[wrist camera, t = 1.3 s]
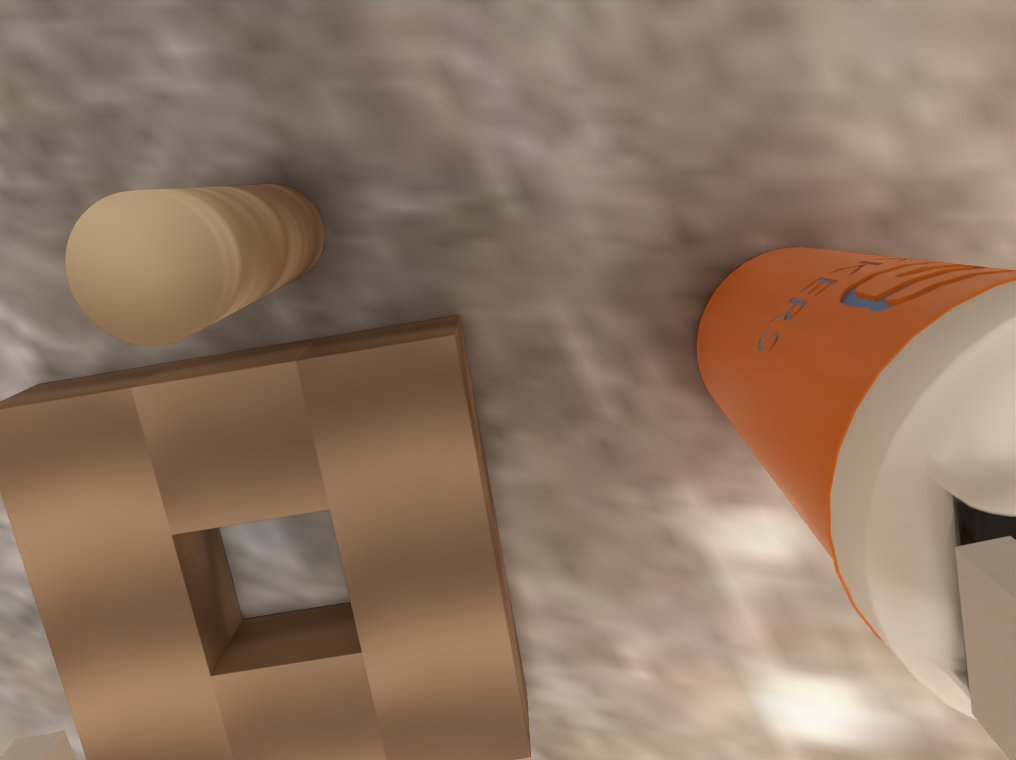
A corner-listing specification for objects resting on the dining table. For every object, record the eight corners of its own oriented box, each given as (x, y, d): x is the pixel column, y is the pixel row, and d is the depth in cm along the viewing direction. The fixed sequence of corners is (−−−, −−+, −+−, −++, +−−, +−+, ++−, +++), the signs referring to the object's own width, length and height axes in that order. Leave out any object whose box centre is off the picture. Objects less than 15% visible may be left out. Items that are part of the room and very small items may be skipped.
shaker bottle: (931, 409, 33) (1562, 752, 13) (709, 485, 34) (1005, 918, 14) (875, 185, 31) (1522, 206, 11) (639, 269, 32) (873, 425, 12)
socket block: (37, 384, 32) (-25, 413, 28) (459, 315, 32) (454, 334, 28) (148, 751, 36) (106, 821, 32) (526, 692, 36) (530, 757, 32)
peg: (217, 192, 31) (46, 205, 19) (313, 176, 31) (201, 178, 19) (240, 289, 31) (89, 357, 20) (333, 273, 31) (238, 333, 20)
